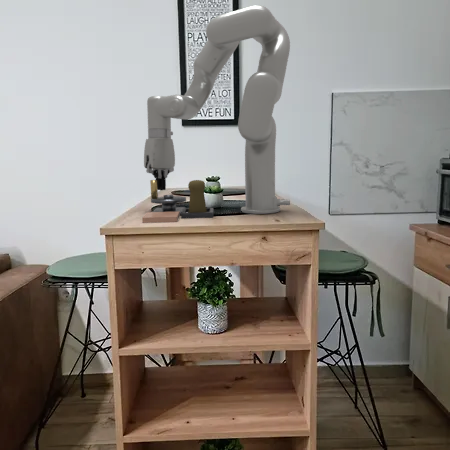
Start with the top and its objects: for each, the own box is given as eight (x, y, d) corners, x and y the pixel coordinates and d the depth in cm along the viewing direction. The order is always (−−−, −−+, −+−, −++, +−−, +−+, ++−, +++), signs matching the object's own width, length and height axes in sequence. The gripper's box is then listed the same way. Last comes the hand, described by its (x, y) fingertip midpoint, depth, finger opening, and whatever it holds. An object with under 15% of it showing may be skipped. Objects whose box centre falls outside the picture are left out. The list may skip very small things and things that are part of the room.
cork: (204, 217, 140) (203, 181, 138) (185, 217, 141) (184, 181, 139) (209, 214, 146) (208, 179, 144) (191, 213, 147) (189, 179, 145)
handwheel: (158, 198, 160) (157, 178, 159) (191, 199, 157) (190, 178, 156) (144, 203, 149) (143, 181, 148) (178, 203, 146) (177, 181, 145)
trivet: (180, 216, 143) (179, 211, 143) (177, 221, 133) (176, 216, 133) (147, 217, 143) (147, 212, 143) (142, 222, 133) (142, 217, 133)
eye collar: (213, 212, 149) (213, 207, 148) (213, 217, 139) (212, 212, 139) (183, 213, 148) (183, 208, 148) (181, 218, 139) (181, 213, 139)
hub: (185, 208, 158) (184, 200, 158) (183, 213, 149) (182, 204, 148) (156, 209, 158) (155, 200, 158) (152, 214, 149) (151, 205, 148)
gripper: (170, 134, 161) (171, 187, 164) (134, 134, 151) (136, 190, 154) (184, 134, 156) (185, 189, 159) (147, 134, 145) (149, 192, 149)
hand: (160, 189), depth 157 cm, fingers closed
